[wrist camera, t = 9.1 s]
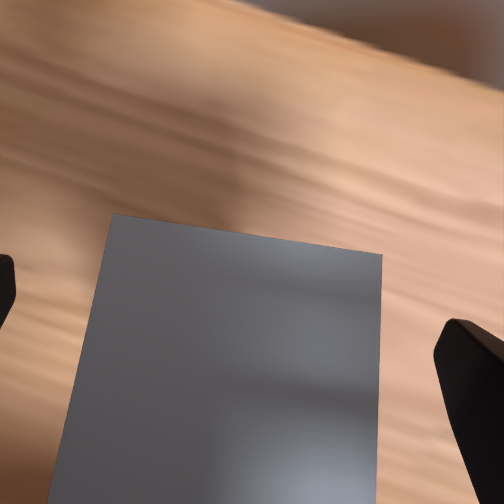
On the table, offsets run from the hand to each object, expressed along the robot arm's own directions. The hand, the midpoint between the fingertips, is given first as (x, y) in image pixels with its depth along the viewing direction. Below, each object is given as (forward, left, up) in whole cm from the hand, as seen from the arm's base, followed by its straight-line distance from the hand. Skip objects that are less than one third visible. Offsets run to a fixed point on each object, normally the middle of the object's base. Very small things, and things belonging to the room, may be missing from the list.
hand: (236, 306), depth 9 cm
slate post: (-1, -1, -8) cm, 8 cm away
